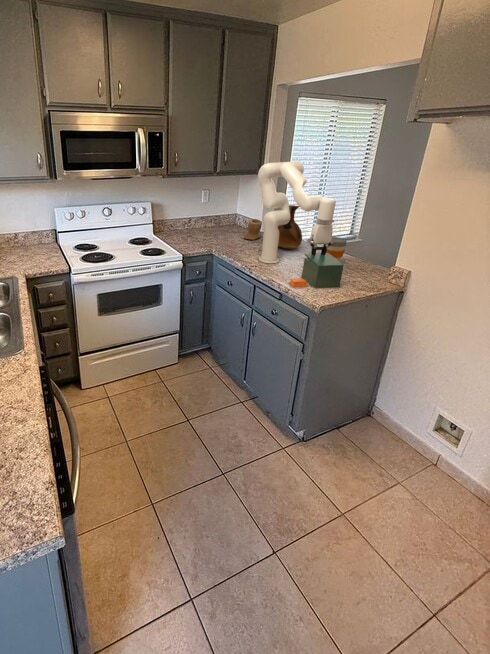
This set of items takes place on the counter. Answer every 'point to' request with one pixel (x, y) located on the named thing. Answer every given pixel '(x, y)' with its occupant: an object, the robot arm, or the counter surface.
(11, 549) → the counter surface
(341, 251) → the reusable coffee cup
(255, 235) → the stone cup
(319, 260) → the hinged box lid
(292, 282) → the block
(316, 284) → the green open box
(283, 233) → the ceramic pitcher
